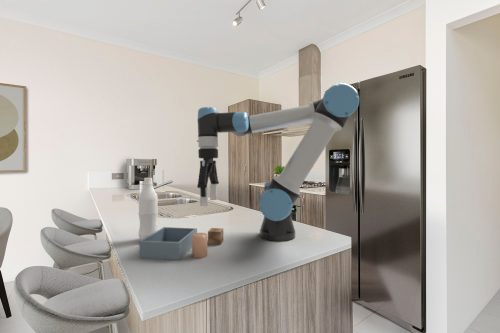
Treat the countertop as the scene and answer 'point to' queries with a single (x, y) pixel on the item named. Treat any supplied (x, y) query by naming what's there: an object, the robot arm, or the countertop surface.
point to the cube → (215, 236)
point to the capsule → (199, 245)
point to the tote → (167, 243)
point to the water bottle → (148, 209)
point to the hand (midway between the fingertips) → (209, 202)
